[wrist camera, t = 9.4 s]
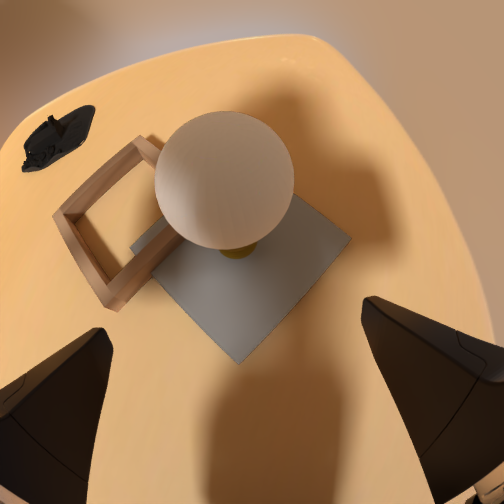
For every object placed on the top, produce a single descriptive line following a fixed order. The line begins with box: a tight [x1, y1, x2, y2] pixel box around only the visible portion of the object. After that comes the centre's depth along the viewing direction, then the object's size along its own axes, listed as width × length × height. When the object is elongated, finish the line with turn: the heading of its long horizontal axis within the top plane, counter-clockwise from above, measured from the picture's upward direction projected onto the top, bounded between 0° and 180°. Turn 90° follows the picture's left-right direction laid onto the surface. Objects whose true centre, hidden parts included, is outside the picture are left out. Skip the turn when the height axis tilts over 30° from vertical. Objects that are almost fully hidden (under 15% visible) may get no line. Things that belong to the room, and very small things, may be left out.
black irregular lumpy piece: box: [22, 105, 95, 172], centre depth 23 cm, size 12×10×5 cm
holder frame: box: [52, 135, 186, 312], centre depth 19 cm, size 10×10×2 cm
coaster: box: [130, 193, 351, 365], centre depth 18 cm, size 11×11×1 cm
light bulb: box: [154, 111, 294, 259], centre depth 13 cm, size 6×6×10 cm
